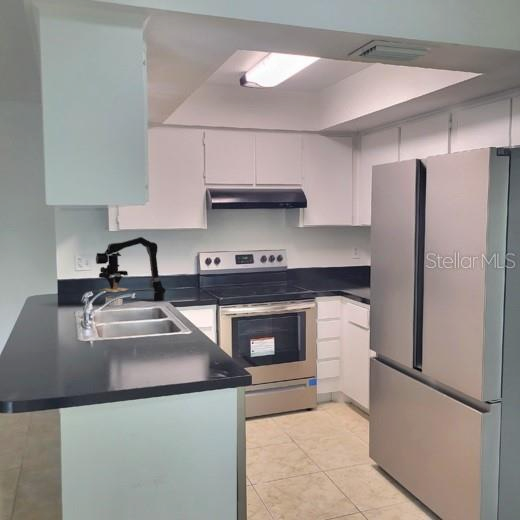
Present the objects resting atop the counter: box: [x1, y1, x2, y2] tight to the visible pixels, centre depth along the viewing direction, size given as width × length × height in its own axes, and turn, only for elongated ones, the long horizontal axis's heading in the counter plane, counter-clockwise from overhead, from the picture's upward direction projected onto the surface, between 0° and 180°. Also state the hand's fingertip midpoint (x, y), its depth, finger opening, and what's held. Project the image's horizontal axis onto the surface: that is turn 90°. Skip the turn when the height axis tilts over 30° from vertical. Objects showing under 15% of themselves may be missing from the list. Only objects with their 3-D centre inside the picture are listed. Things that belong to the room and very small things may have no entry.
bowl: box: [105, 295, 123, 306], centre depth 328 cm, size 10×10×5 cm
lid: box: [98, 281, 130, 293], centre depth 328 cm, size 13×13×5 cm
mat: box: [122, 300, 158, 308], centre depth 329 cm, size 17×17×1 cm
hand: (113, 287), depth 328 cm, fingers closed on lid, 3 cm apart
